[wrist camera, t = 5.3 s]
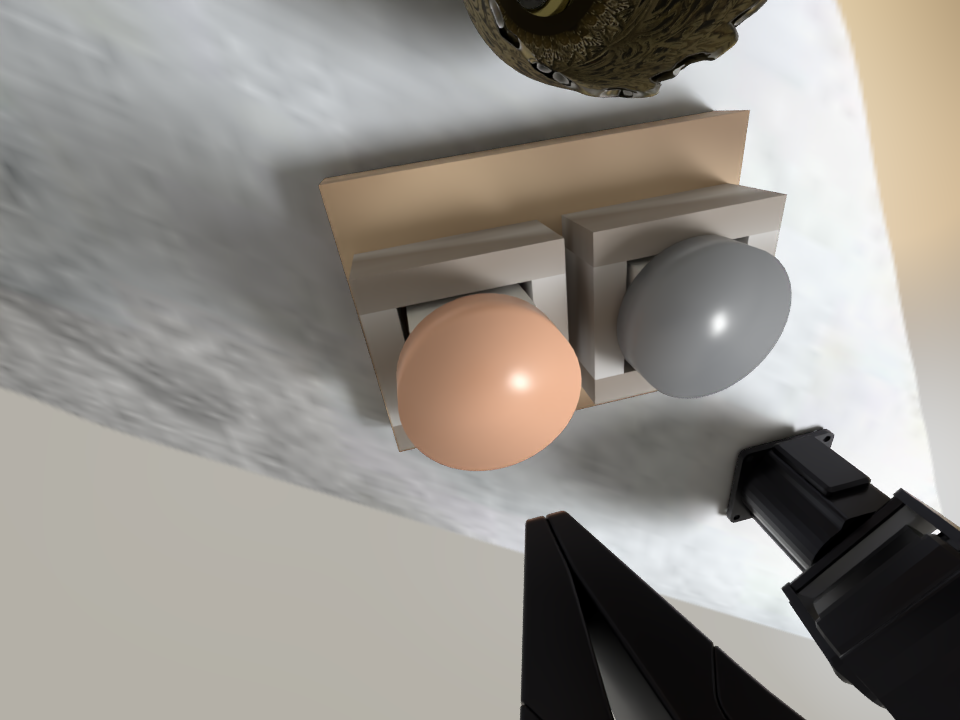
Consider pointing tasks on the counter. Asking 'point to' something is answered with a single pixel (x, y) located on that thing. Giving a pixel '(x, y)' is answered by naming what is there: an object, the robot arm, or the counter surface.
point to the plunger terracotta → (485, 379)
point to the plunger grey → (702, 314)
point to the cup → (609, 40)
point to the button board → (543, 232)
